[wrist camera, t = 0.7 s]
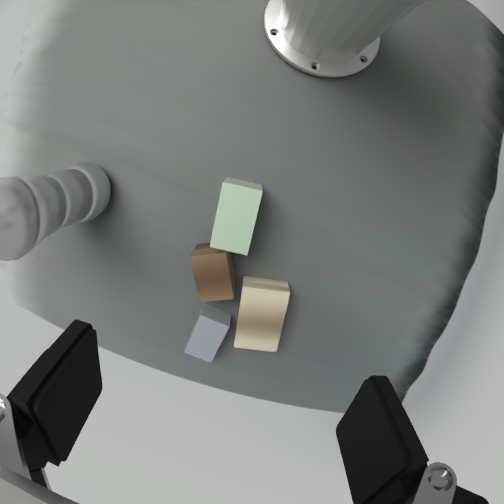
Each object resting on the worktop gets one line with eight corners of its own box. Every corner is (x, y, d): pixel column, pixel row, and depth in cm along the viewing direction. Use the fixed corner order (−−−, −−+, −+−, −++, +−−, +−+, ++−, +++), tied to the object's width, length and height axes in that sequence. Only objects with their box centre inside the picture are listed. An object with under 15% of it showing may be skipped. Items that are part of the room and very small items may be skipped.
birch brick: (243, 274, 33) (242, 286, 30) (287, 280, 33) (290, 292, 31) (235, 332, 36) (233, 347, 33) (274, 337, 36) (276, 351, 33)
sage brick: (228, 177, 29) (223, 182, 25) (261, 184, 30) (262, 190, 25) (216, 232, 31) (209, 246, 27) (248, 239, 32) (247, 255, 27)
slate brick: (204, 301, 34) (200, 315, 31) (231, 313, 35) (229, 326, 32) (188, 338, 36) (183, 352, 33) (213, 348, 37) (210, 362, 34)
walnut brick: (197, 243, 32) (190, 256, 28) (229, 240, 32) (225, 252, 28) (205, 285, 33) (199, 302, 30) (235, 282, 33) (233, 299, 29)
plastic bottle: (65, 172, 29) (-70, 210, 10) (109, 152, 28) (-36, 173, 9) (79, 222, 31) (-44, 295, 12) (124, 207, 30) (-5, 281, 11)
